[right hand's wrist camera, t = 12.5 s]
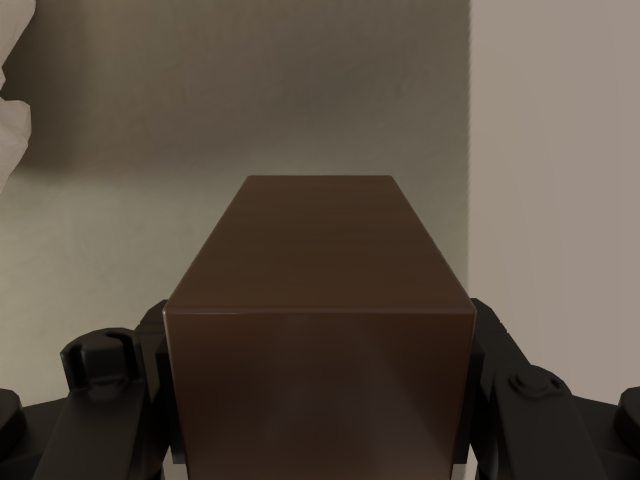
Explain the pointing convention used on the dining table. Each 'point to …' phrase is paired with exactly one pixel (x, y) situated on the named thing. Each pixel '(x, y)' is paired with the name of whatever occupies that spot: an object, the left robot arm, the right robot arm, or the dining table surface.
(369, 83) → the dining table surface
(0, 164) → the skull
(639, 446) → the right robot arm
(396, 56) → the dining table surface
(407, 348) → the walnut bar
